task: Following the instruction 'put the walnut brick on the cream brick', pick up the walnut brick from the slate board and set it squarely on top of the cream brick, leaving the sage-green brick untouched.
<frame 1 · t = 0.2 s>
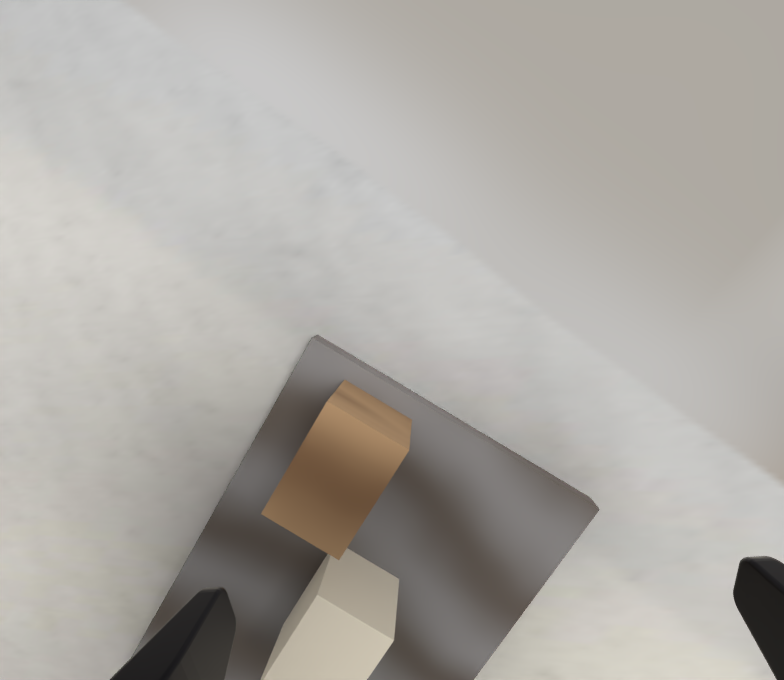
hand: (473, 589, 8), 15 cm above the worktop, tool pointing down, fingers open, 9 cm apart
cream brick: (340, 602, 24), point 1 cm above the worktop, touching slate board
slate board: (344, 586, 25), on the worktop
walnut brick: (349, 447, 22), point 1 cm above the worktop, touching slate board
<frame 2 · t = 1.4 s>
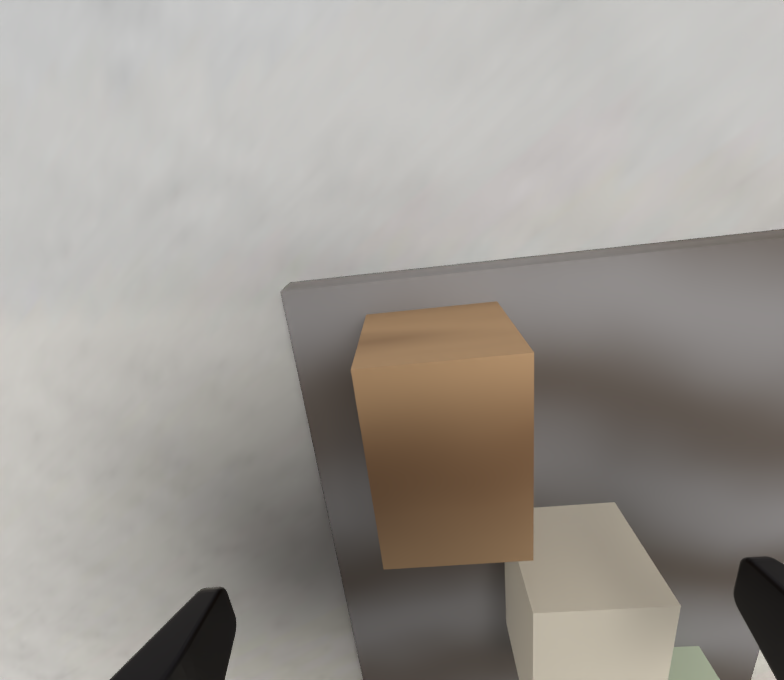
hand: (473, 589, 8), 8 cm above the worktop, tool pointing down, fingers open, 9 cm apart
cream brick: (556, 566, 17), point 1 cm above the worktop, touching slate board
slate board: (547, 542, 18), on the worktop
walnut brick: (438, 394, 14), point 1 cm above the worktop, touching slate board
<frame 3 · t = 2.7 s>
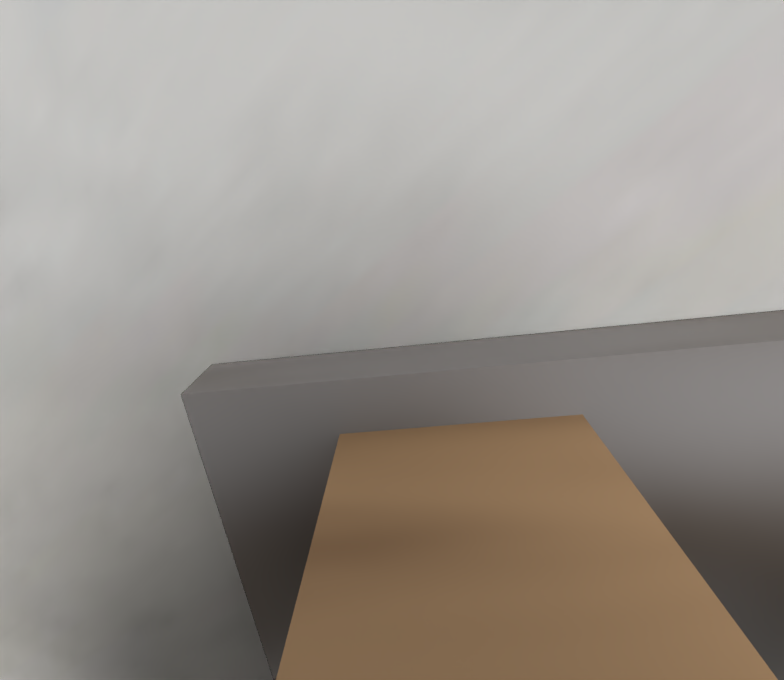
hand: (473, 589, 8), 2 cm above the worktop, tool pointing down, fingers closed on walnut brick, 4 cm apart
walnut brick: (468, 560, 8), point 1 cm above the worktop, touching gripper, slate board
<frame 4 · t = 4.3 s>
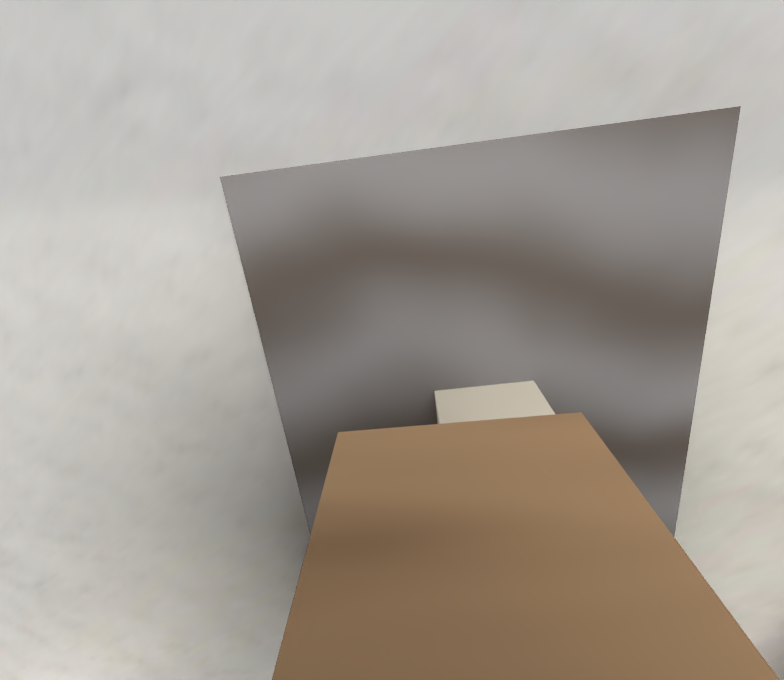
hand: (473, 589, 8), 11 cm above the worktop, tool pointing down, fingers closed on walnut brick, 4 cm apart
cream brick: (486, 447, 18), point 1 cm above the worktop, touching slate board
slate board: (481, 431, 20), on the worktop
walnut brick: (466, 558, 8), point 11 cm above the worktop, touching gripper
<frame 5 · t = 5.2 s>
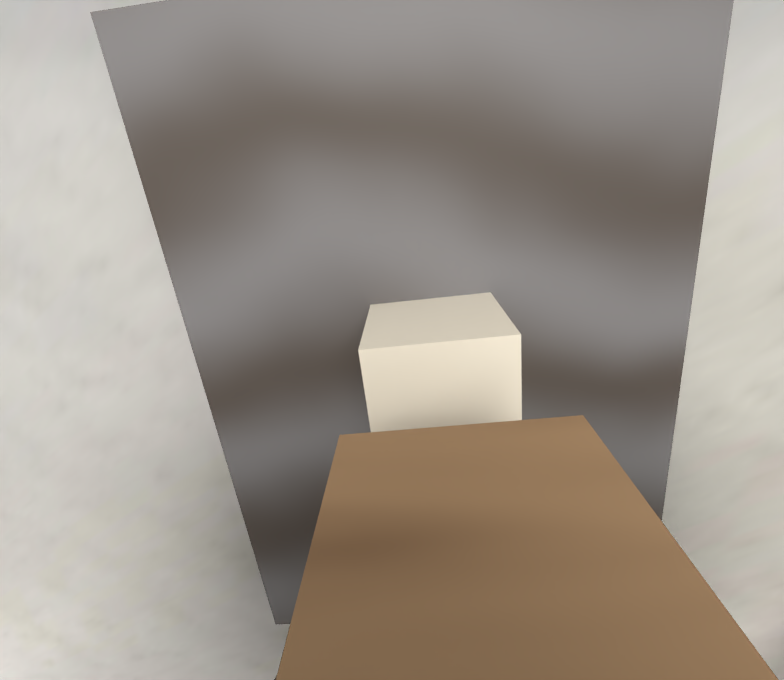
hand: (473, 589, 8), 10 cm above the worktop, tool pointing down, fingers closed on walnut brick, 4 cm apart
cream brick: (436, 379, 15), point 1 cm above the worktop, touching slate board
slate board: (434, 365, 16), on the worktop
walnut brick: (468, 561, 8), point 9 cm above the worktop, touching gripper
when the fingers open (7 cm above the worktop, at t = 6.0 s): walnut brick drops 1 cm, resting on cream brick.
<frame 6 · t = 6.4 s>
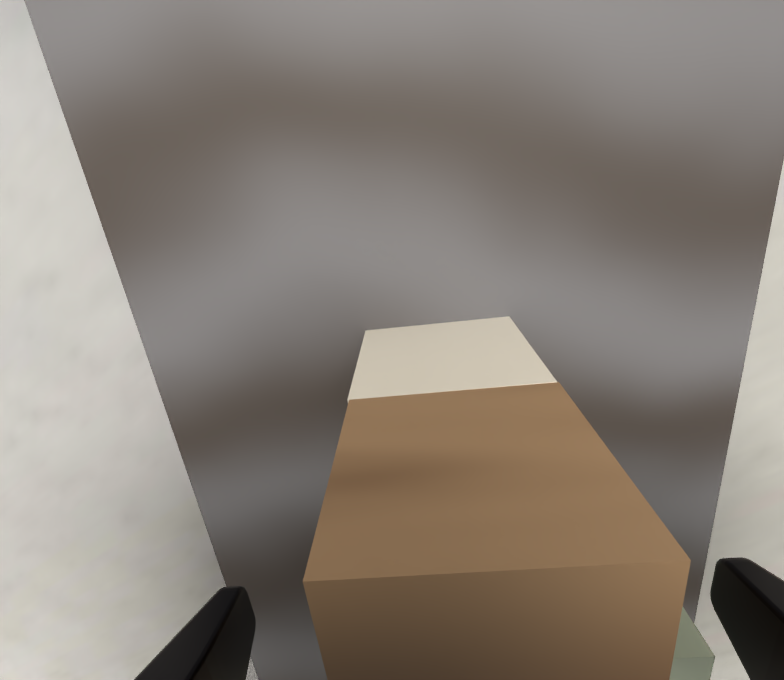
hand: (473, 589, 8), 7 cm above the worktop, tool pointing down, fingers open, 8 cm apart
cream brick: (444, 416, 13), point 1 cm above the worktop, touching slate board, walnut brick
sage brick: (570, 598, 16), point 1 cm above the worktop, touching slate board
slate board: (441, 397, 14), on the worktop
walnut brick: (460, 514, 9), point 5 cm above the worktop, touching cream brick
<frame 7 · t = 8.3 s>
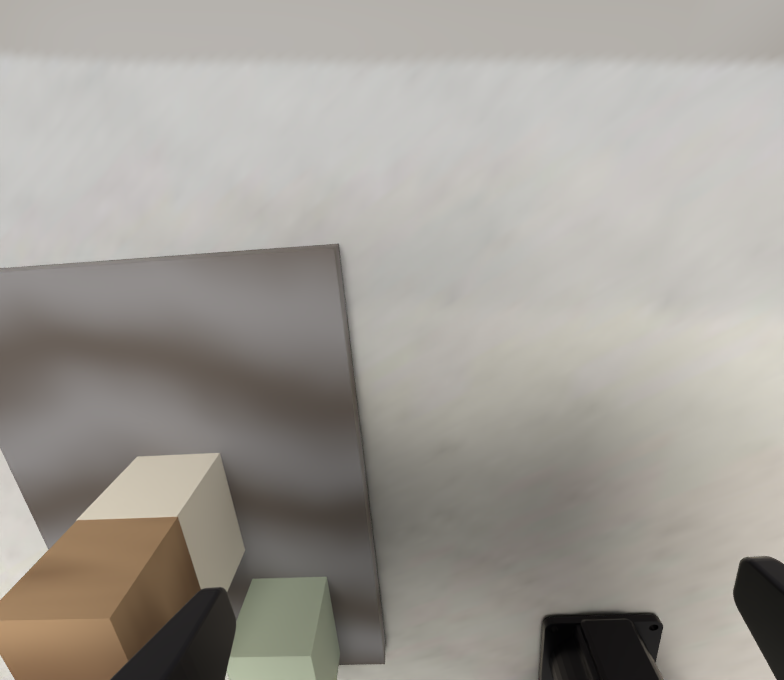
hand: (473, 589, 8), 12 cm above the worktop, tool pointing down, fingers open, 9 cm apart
cream brick: (193, 505, 21), point 1 cm above the worktop, touching slate board, walnut brick
sage brick: (298, 617, 24), point 1 cm above the worktop, touching slate board
slate board: (204, 488, 22), on the worktop
walnut brick: (148, 576, 17), point 5 cm above the worktop, touching cream brick
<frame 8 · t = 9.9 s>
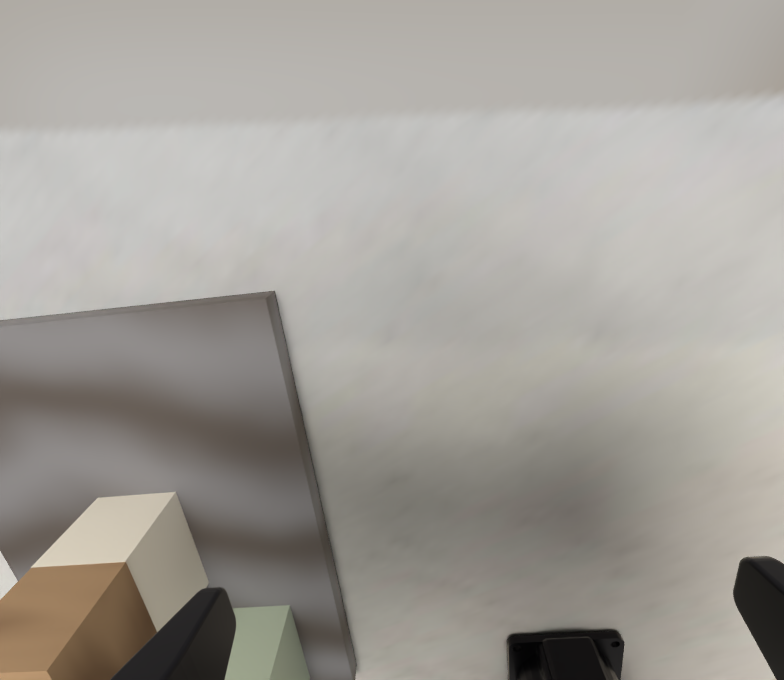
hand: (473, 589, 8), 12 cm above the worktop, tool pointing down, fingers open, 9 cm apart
cream brick: (155, 541, 22), point 1 cm above the worktop, touching slate board, walnut brick
sage brick: (266, 644, 24), point 1 cm above the worktop, touching slate board
slate board: (167, 524, 23), on the worktop
walnut brick: (104, 617, 18), point 5 cm above the worktop, touching cream brick
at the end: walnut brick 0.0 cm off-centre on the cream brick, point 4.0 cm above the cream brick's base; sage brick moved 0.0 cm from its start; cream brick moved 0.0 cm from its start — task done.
